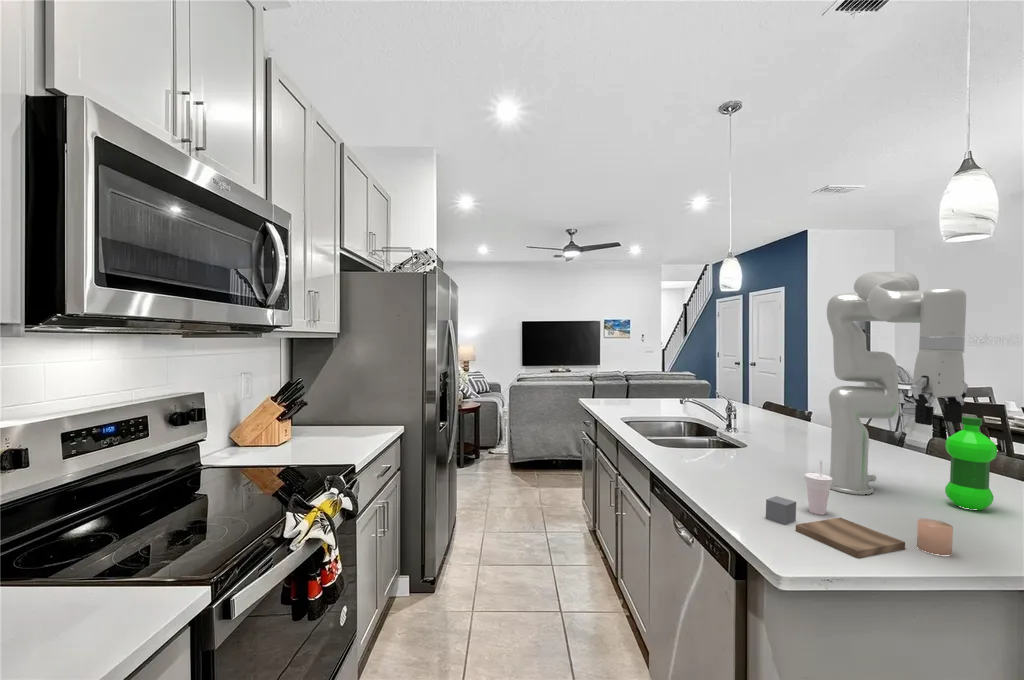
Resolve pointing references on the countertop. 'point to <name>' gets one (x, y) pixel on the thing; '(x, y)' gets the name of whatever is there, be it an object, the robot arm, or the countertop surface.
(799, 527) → the walnut board
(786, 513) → the rubber block
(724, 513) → the countertop surface
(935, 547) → the peach rounded cylinder
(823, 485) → the smoothie
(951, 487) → the plastic bottle
